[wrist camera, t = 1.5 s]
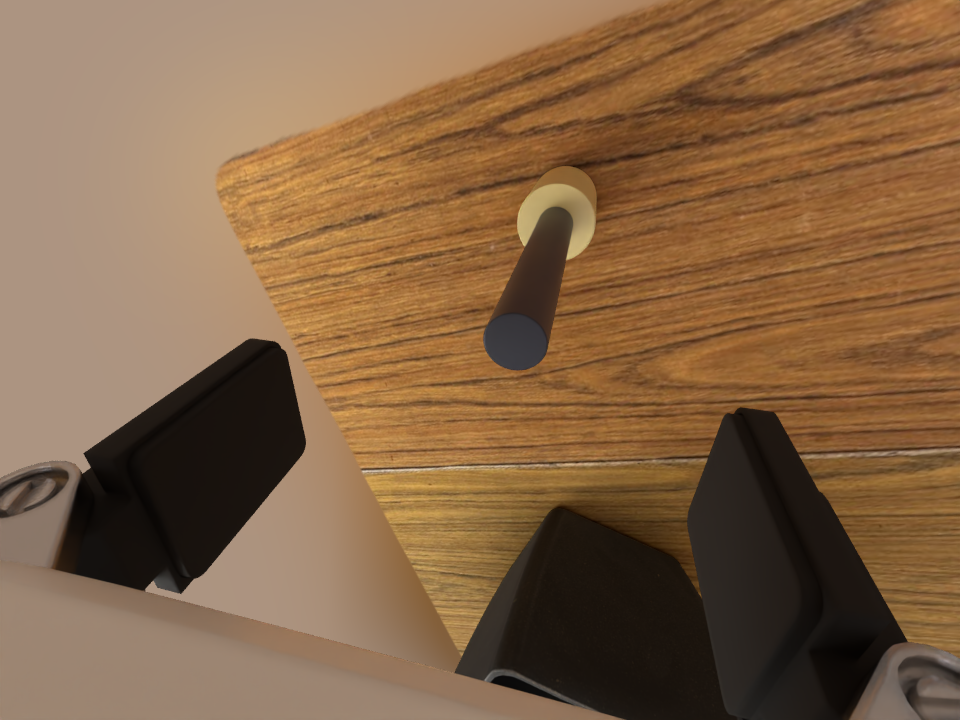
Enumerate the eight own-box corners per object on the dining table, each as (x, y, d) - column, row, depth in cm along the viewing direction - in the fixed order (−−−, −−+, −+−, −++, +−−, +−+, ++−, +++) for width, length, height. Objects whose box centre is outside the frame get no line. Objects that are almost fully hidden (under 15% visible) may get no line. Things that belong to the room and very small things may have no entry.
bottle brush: (521, 185, 28) (419, 307, 13) (581, 153, 27) (551, 247, 11) (547, 242, 30) (485, 417, 14) (606, 215, 28) (612, 379, 12)
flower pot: (467, 576, 51) (416, 765, 36) (532, 466, 40) (494, 671, 26) (625, 644, 50) (635, 861, 36) (732, 551, 40) (803, 804, 26)
